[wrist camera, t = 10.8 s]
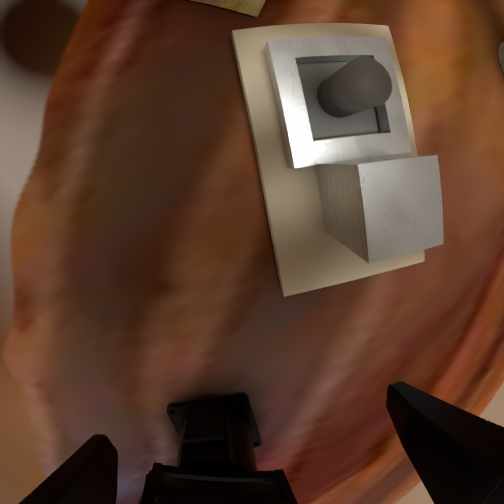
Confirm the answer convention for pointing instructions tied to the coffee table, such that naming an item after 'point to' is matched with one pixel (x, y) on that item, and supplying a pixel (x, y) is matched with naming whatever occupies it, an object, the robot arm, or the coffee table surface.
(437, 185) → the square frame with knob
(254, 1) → the candy box
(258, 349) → the coffee table surface
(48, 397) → the coffee table surface
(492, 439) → the robot arm
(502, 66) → the house plant
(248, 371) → the coffee table surface
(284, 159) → the board
